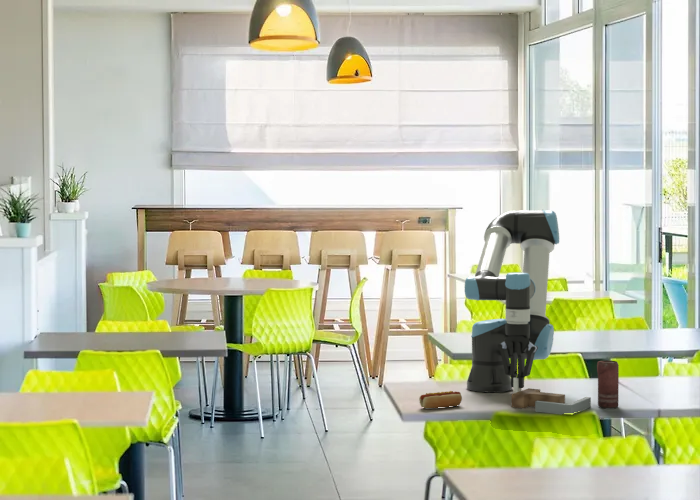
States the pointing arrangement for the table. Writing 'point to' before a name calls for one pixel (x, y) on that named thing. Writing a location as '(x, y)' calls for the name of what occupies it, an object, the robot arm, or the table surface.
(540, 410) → the bracket
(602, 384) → the can
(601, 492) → the table surface
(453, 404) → the food
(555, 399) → the t block
